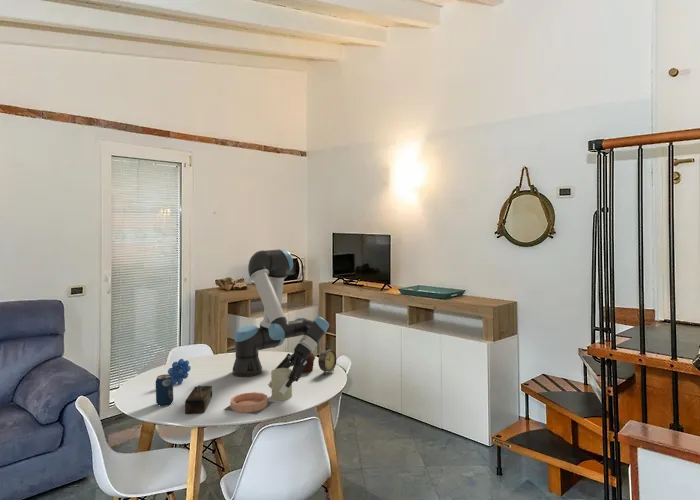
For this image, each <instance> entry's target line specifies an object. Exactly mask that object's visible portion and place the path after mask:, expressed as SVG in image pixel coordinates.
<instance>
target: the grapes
mask: <svg viewBox="0 0 700 500" xmlns="http://www.w3.org/2000/svg"><path fill="white" fill-rule="evenodd" d="M191 368H192V367H191V366H190V362H189V360H184V358H180V359H179V360H178V361H173V363H172V364H171V367H170V368H168V370H167V374H169V375H171V377H172V379H173V386H174V385H176V384H182V383H183V381H184V380H185V379H187V378H188V377H189V372H191Z"/></svg>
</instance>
